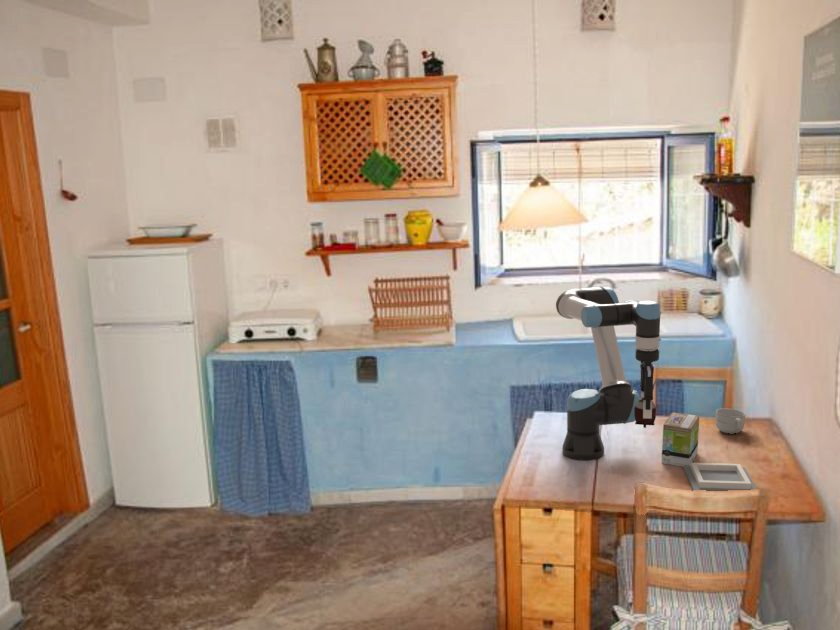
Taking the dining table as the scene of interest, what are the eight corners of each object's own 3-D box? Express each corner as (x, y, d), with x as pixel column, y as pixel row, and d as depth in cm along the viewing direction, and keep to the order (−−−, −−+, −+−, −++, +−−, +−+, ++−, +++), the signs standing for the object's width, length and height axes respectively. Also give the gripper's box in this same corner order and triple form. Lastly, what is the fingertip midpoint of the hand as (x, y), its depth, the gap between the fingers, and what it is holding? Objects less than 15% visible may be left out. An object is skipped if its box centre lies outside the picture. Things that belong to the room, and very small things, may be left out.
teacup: (712, 426, 312) (713, 407, 310) (740, 426, 310) (741, 407, 309) (720, 439, 299) (721, 419, 297) (750, 439, 297) (751, 419, 295)
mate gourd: (633, 427, 262) (634, 384, 259) (634, 419, 270) (635, 377, 266) (657, 428, 260) (658, 385, 257) (657, 420, 268) (658, 378, 264)
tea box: (690, 468, 274) (691, 428, 270) (660, 463, 278) (661, 424, 275) (698, 453, 286) (699, 414, 283) (670, 449, 291) (671, 411, 288)
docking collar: (693, 493, 254) (694, 484, 254) (683, 468, 274) (684, 460, 273) (759, 495, 251) (759, 486, 250) (744, 469, 270) (744, 461, 270)
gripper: (663, 356, 249) (661, 424, 254) (655, 340, 268) (653, 404, 273) (638, 356, 250) (637, 424, 255) (632, 340, 269) (631, 404, 274)
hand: (646, 413), depth 264 cm, fingers closed on mate gourd, 7 cm apart
